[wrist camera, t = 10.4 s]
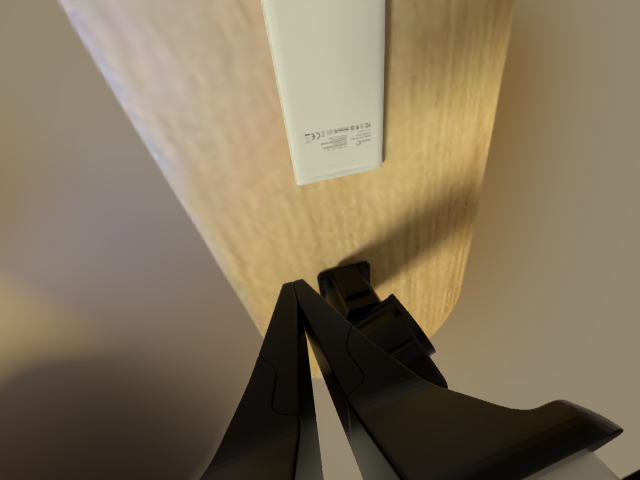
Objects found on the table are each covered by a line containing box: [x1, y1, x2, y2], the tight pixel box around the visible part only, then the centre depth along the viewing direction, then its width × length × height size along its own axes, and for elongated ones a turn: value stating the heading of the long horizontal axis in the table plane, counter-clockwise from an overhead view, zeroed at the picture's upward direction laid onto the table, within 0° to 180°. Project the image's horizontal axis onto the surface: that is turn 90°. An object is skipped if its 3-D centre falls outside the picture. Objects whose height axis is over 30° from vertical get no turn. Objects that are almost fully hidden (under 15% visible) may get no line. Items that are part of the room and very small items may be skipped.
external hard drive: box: [261, 0, 385, 185], centre depth 18 cm, size 2×8×12 cm
